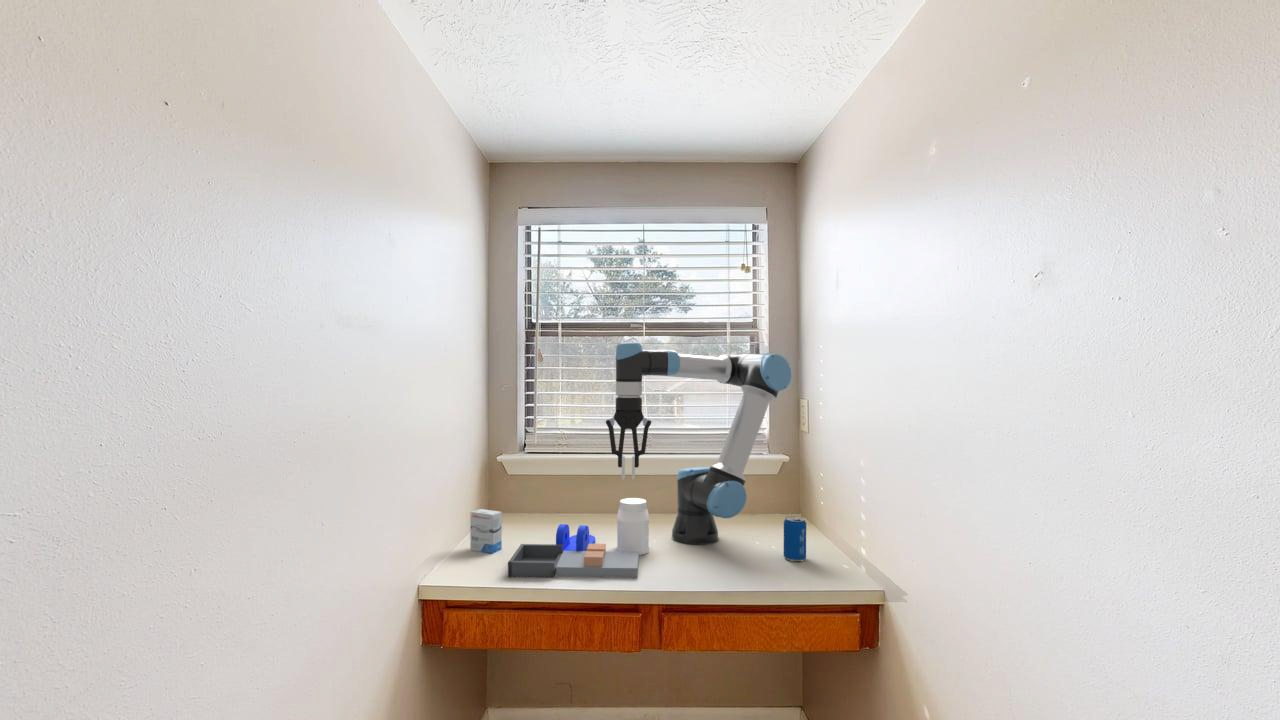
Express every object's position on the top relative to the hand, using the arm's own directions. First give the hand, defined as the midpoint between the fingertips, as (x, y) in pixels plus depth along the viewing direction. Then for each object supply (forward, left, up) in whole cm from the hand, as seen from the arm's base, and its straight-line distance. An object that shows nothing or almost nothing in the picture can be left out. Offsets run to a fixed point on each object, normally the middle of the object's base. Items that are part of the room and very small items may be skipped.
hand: (628, 478), depth 173 cm
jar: (-1, -14, -25) cm, 28 cm away
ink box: (+44, -12, -25) cm, 52 cm away
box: (+26, +4, -24) cm, 36 cm away
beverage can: (-49, -6, -25) cm, 55 cm away
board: (+8, +4, -24) cm, 26 cm away
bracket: (+16, -14, -25) cm, 33 cm away
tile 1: (+9, 0, -22) cm, 24 cm away
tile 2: (+9, +7, -22) cm, 25 cm away
